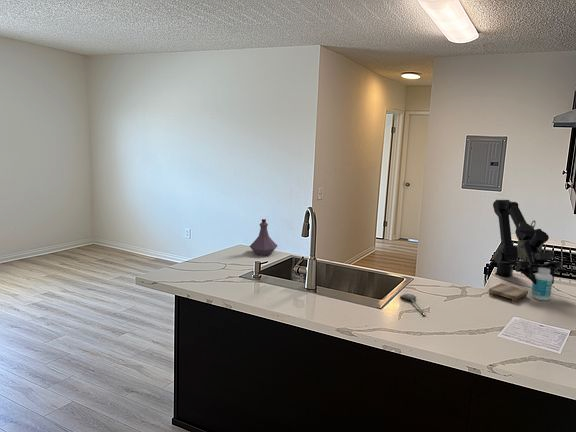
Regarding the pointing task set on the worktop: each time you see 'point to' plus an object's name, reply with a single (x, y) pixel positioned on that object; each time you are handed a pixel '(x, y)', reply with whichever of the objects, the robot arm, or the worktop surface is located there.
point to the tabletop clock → (521, 250)
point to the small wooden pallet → (508, 292)
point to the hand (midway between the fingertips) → (544, 283)
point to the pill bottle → (542, 284)
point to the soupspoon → (412, 298)
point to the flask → (263, 241)
